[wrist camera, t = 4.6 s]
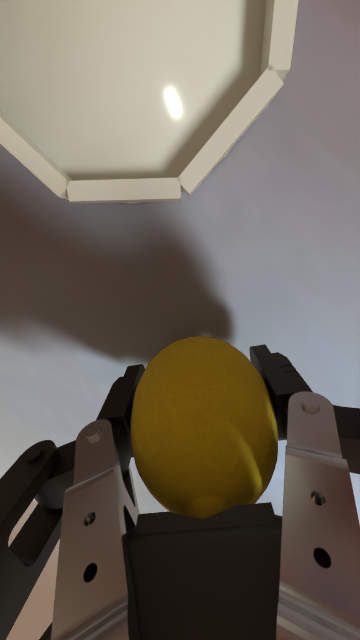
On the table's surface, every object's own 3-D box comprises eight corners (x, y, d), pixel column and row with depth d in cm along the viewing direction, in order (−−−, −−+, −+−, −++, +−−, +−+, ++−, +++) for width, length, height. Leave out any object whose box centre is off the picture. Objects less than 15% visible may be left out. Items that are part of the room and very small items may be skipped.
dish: (73, -486, 5) (18, -827, 3) (346, 15, 8) (388, -40, 6) (-98, 37, 8) (-167, -9, 7) (138, 257, 11) (130, 262, 10)
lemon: (130, 360, 13) (58, 531, 6) (192, 290, 12) (203, 408, 4) (200, 408, 14) (213, 598, 7) (266, 352, 13) (374, 527, 5)
